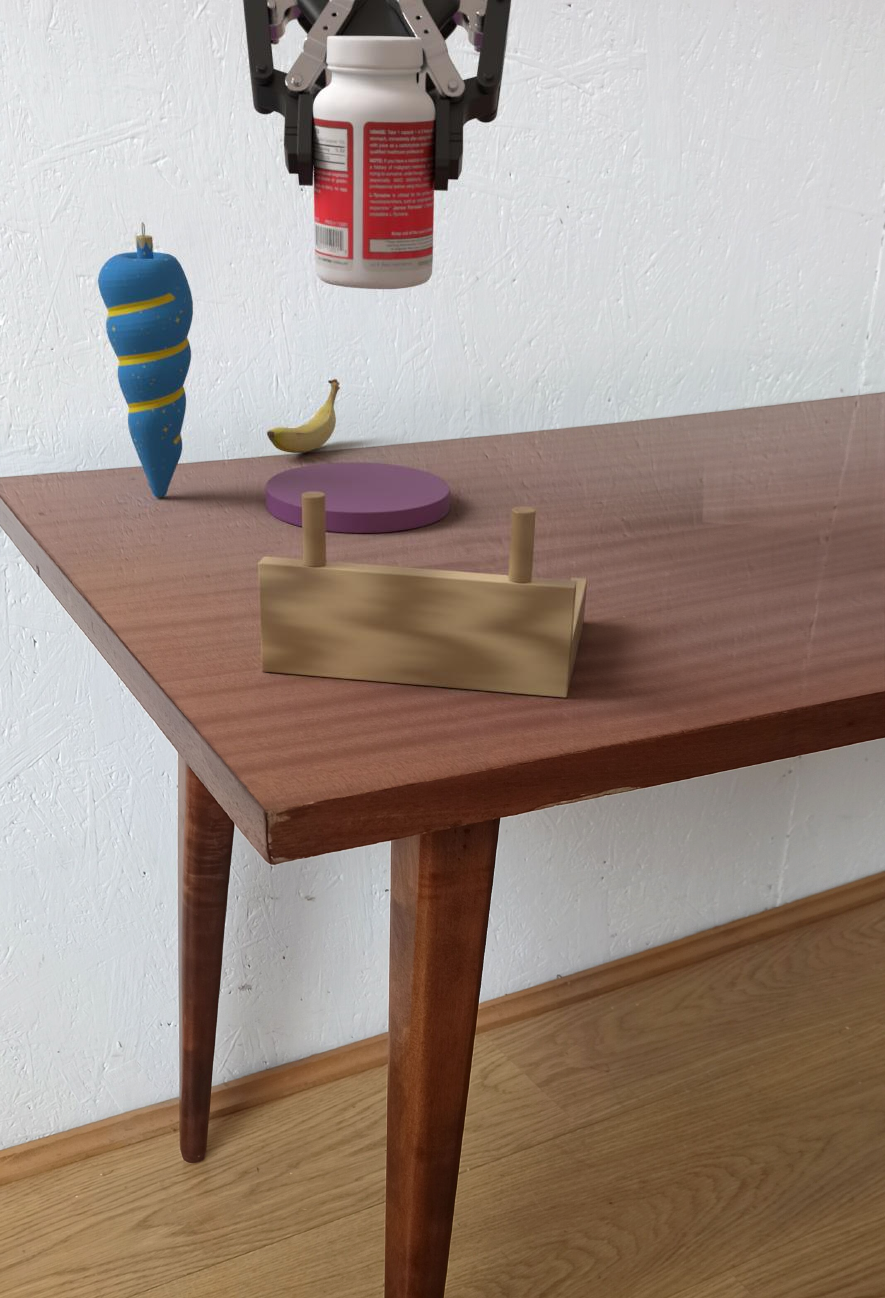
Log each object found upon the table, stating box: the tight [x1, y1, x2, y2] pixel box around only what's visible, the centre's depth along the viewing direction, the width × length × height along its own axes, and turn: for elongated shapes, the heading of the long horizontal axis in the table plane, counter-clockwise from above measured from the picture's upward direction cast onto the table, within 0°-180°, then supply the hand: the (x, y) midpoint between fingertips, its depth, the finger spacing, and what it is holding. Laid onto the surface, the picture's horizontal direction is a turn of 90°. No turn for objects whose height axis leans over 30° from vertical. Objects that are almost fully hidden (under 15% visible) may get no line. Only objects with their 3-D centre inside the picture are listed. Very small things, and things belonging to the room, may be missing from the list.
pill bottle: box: [313, 36, 436, 290], centre depth 77 cm, size 6×6×11 cm
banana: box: [266, 378, 341, 454], centre depth 101 cm, size 8×2×4 cm, turn 153°
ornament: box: [97, 222, 194, 499], centre depth 88 cm, size 5×5×15 cm
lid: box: [265, 461, 451, 534], centre depth 91 cm, size 11×11×1 cm
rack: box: [257, 491, 588, 699], centre depth 70 cm, size 14×10×8 cm
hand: (373, 176), depth 76 cm, fingers closed on pill bottle, 6 cm apart
